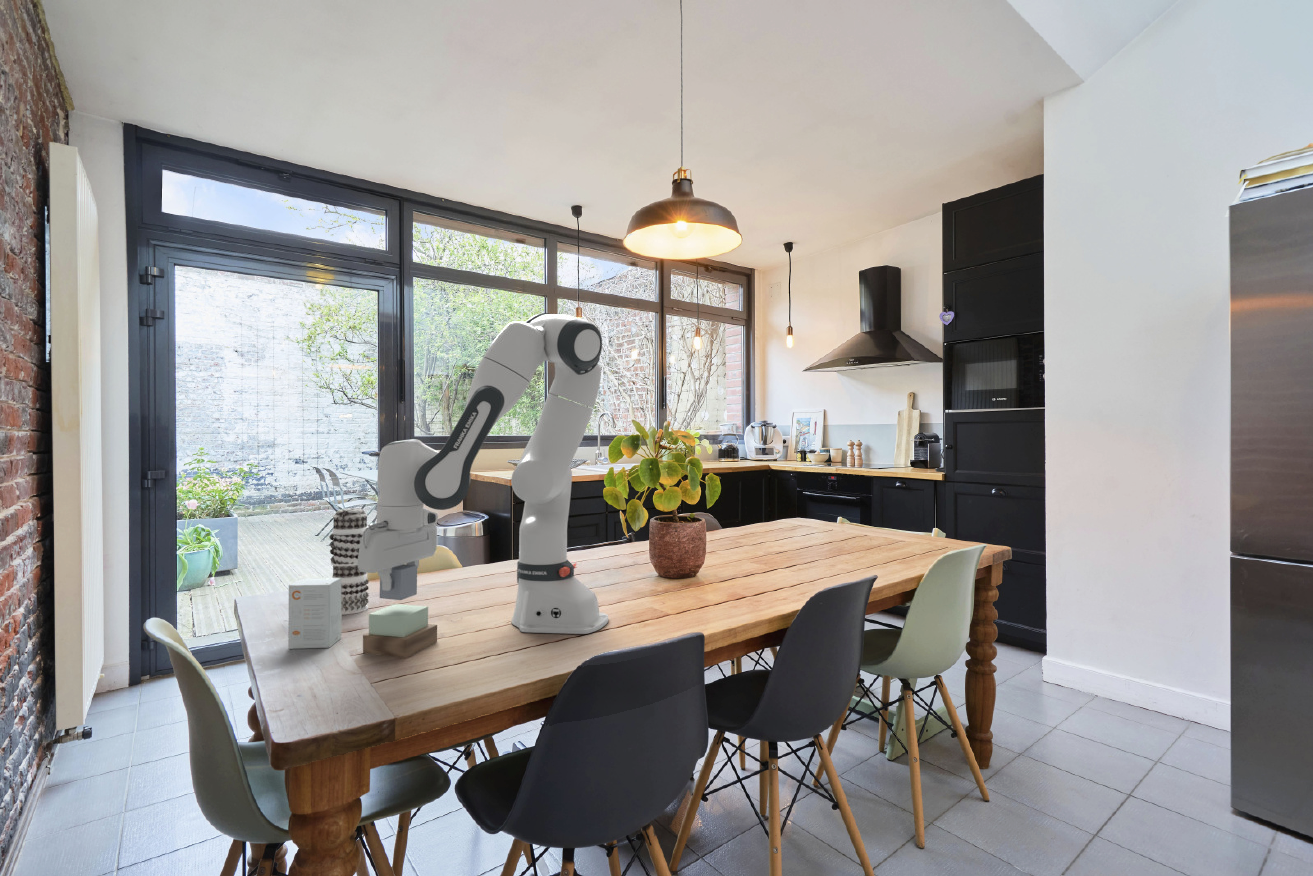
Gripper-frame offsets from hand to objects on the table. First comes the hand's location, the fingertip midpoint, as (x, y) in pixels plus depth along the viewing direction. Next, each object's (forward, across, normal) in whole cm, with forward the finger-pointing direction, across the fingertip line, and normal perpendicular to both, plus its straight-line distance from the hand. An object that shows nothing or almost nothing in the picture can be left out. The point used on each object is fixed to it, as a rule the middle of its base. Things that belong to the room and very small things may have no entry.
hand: (398, 586), depth 126 cm
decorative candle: (+13, +20, +30) cm, 38 cm away
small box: (+13, -3, +18) cm, 22 cm away
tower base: (+13, 0, -1) cm, 13 cm away
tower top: (+9, 0, 0) cm, 9 cm away
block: (+2, 0, 0) cm, 2 cm away
